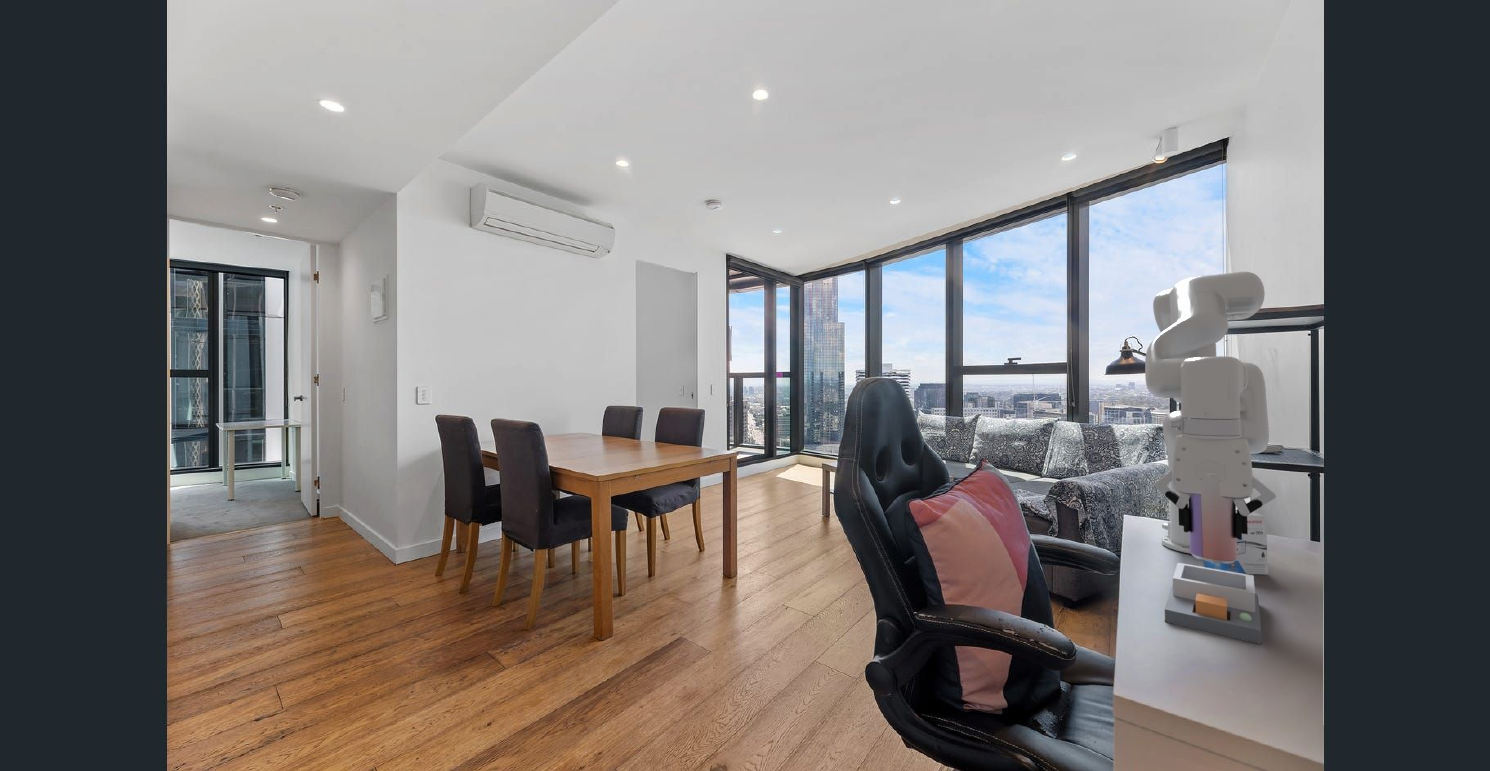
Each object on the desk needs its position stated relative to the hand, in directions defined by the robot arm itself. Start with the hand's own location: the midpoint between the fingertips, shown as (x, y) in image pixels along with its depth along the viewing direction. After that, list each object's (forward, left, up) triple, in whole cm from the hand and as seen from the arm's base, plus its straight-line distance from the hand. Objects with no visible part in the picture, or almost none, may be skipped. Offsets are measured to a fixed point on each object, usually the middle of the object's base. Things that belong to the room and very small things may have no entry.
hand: (1212, 533), depth 88 cm
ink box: (-17, +18, -13) cm, 28 cm away
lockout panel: (+3, -2, -13) cm, 13 cm away
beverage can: (0, 0, -5) cm, 5 cm away
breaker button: (+7, -6, -12) cm, 15 cm away
